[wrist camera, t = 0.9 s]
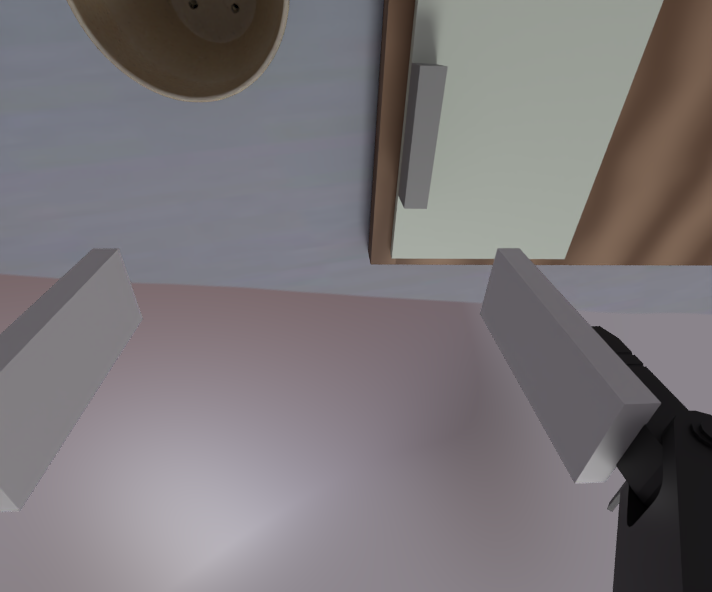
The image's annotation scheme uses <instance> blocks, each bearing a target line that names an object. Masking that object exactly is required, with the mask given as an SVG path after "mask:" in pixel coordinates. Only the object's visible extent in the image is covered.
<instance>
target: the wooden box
mask: <svg viewBox="0 0 712 592" xmlns="http://www.w3.org/2000/svg"><path fill="white" fill-rule="evenodd" d="M414 10H415V0H384V10H383V26H382V42H381V58H380V74H379V90H378V105H377V121H376V137H375V153H374V169H373V185H372V200H371V216H370V232H369V248H368V253H369V258H370V263H371V264H417V265H493V263H494V259H403V258H391V254H390V252H391V242H392V232H393V222H394V212H395V202H396V192H397V181H398V171H399V161H400V151H401V141H402V131H403V121H404V111H405V101H406V91H407V80H408V70H409V60H410V50H411V40H412V30H413V20H414ZM530 260H531V261H532V263H533V264H534V265H712V0H664V1H663V3H662V6H661V8H660V11H659V14H658V16H657V19H656V21H655V24H654V27H653V29H652V32H651V34H650V37H649V40H648V42H647V45H646V48H645V50H644V53H643V55H642V58H641V61H640V63H639V66H638V68H637V71H636V74H635V76H634V79H633V82H632V84H631V87H630V89H629V92H628V95H627V97H626V100H625V102H624V105H623V108H622V110H621V113H620V115H619V118H618V121H617V123H616V126H615V129H614V131H613V134H612V136H611V139H610V142H609V144H608V147H607V149H606V152H605V155H604V157H603V160H602V163H601V165H600V168H599V170H598V173H597V176H596V178H595V181H594V183H593V186H592V189H591V191H590V194H589V196H588V199H587V202H586V204H585V207H584V210H583V212H582V215H581V217H580V220H579V223H578V225H577V228H576V230H575V233H574V236H573V238H572V241H571V243H570V246H569V249H568V251H567V254H566V257H565V259H530Z"/></svg>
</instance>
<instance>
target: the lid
mask: <svg viewBox="0 0 712 592" xmlns="http://www.w3.org/2000/svg"><path fill="white" fill-rule="evenodd" d="M663 1H664V0H415V10H414V20H413V30H412V40H411V50H410V60H409V70H408V80H407V91H406V101H405V111H404V121H403V131H402V141H401V151H400V161H399V171H398V181H397V192H396V202H395V212H394V222H393V232H392V242H391V252H390V254H391V258H403V259H495V255H496V252H497V248H520V249H521V251H522V252H523V253H524V254H525V255H526V256H527V257H528V258H529V259H565V257H566V254H567V251H568V249H569V246H570V243H571V241H572V238H573V236H574V233H575V230H576V228H577V225H578V223H579V220H580V217H581V215H582V212H583V210H584V207H585V204H586V202H587V199H588V196H589V194H590V191H591V189H592V186H593V183H594V181H595V178H596V176H597V173H598V170H599V168H600V165H601V163H602V160H603V157H604V155H605V152H606V149H607V147H608V144H609V142H610V139H611V136H612V134H613V131H614V129H615V126H616V123H617V121H618V118H619V115H620V113H621V110H622V108H623V105H624V102H625V100H626V97H627V95H628V92H629V89H630V87H631V84H632V82H633V79H634V76H635V74H636V71H637V68H638V66H639V63H640V61H641V58H642V55H643V53H644V50H645V48H646V45H647V42H648V40H649V37H650V34H651V32H652V29H653V27H654V24H655V21H656V19H657V16H658V14H659V11H660V8H661V6H662V3H663Z"/></svg>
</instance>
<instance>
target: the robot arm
mask: <svg viewBox="0 0 712 592" xmlns="http://www.w3.org/2000/svg"><path fill="white" fill-rule="evenodd" d="M480 315H481V317H482V319H483V320H484V322H485V324H486V326H487V328H488V329H489V331H490V333H491V335H492V337H493V338H494V340H495V342H496V344H497V345H498V347H499V349H500V351H501V353H502V354H503V356H504V358H505V359H506V361H507V363H508V365H509V367H510V369H511V370H512V372H513V374H514V376H515V378H516V379H517V381H518V383H519V385H520V387H521V388H522V390H523V392H524V394H525V396H526V397H527V399H528V401H529V403H530V404H531V406H532V408H533V410H534V412H535V413H536V415H537V417H538V419H539V421H540V422H541V424H542V426H543V428H544V429H545V431H546V433H547V435H548V437H549V438H550V440H551V442H552V444H553V445H554V447H555V449H556V451H557V453H558V454H559V456H560V458H561V460H562V462H563V463H564V465H565V467H566V469H567V471H568V472H569V474H570V476H571V478H572V480H573V481H574V483H594V482H606V481H607V479H608V478H609V477H610V475H611V474H612V472H613V471H614V470H615V468H616V467H618V469H619V470H620V472H621V473H622V475H623V476H624V478H625V479H626V481H625V483H624V484H623V485H622V487H621V488H620V490H619V491H618V492H617V493H616V495H615V496H614V497H613V499H612V500H611V501H610V503H609V505H608V508H607V509H608V510H610V511H613V510H614V509H615V507H616V506H617V505H618V504H619V517H618V530H617V543H616V555H615V556H616V557H615V569H614V582H613V592H712V416H711V415H709V414H705V413H701V412H698V411H688V409H687V408H686V407H685V406H684V405H683V404H682V403H681V402H680V401H679V400H678V399H677V398H676V397H675V396H674V395H673V394H672V393H671V392H670V391H669V390H668V389H667V388H666V387H665V386H664V385H663V384H662V383H661V382H660V381H659V380H658V378H657V377H656V376H654V375H653V373H652V372H651V371H650V370H649V369H648V368H647V367H644V366H643V363H642V362H641V361H640V360H639V359H638V358H637V357H636V356H635V355H632V352H631V351H630V350H629V349H628V348H627V347H626V346H625V345H624V343H622V341H621V340H620V339H619V338H617V337H616V336H614V335H613V334H611V333H609V332H608V331H606V330H605V329H603V328H602V327H600V326H595V327H594V326H590V325H589V324H588V323H587V321H586V320H585V319H584V318H583V317H582V316H581V315H580V314H579V313H578V312H577V311H576V309H575V308H574V307H573V306H572V305H571V304H570V303H569V302H568V301H567V300H566V299H565V297H564V296H563V295H562V294H561V293H560V292H559V291H558V290H557V289H556V288H555V287H554V285H553V284H552V283H551V282H550V281H549V280H548V279H547V278H546V277H545V276H544V275H543V273H542V272H541V271H540V270H539V269H538V268H537V267H536V266H535V265H534V264H533V263H532V261H531V260H530V259H529V258H528V257H527V256H526V255H525V254H524V253H523V252H522V251H521V249H520V248H497V252H496V255H495V259H494V263H493V267H492V270H491V274H490V278H489V282H488V286H487V289H486V293H485V297H484V301H483V304H482V309H481V312H480ZM142 319H143V318H142V315H141V312H140V309H139V306H138V304H137V300H136V297H135V295H134V292H133V289H132V286H131V283H130V280H129V277H128V274H127V271H126V268H125V265H124V263H123V260H122V257H121V254H120V251H119V249H92V250H91V251H90V252H89V253H88V254H87V255H86V256H84V257H83V258H82V259H81V260H80V261H79V262H78V263H77V264H76V265H75V266H74V267H73V268H72V269H70V270H69V271H68V272H67V273H66V274H65V275H64V276H63V277H62V278H61V279H60V280H59V281H57V282H56V284H54V285H53V286H52V287H51V288H50V289H49V290H48V291H47V292H46V293H44V294H43V295H42V296H41V297H40V298H39V299H38V300H37V301H36V302H35V303H34V304H33V305H32V306H30V307H29V308H28V310H26V311H25V312H24V313H23V314H22V315H21V316H20V317H19V318H17V320H15V321H14V322H13V323H12V324H11V325H10V326H9V327H8V328H7V329H6V330H5V331H3V332H2V333H1V334H0V512H9V511H10V512H11V511H21V509H22V508H23V506H24V505H25V503H26V501H27V500H28V498H29V497H30V495H31V494H32V492H33V491H34V489H35V487H36V486H37V484H38V483H39V481H40V479H41V478H42V476H43V475H44V473H45V472H46V470H47V468H48V467H49V465H50V464H51V462H52V460H53V459H54V458H55V456H56V454H57V453H58V451H59V450H60V448H61V447H62V445H63V443H64V442H65V440H66V439H67V437H68V436H69V434H70V432H71V431H72V429H73V428H74V426H75V425H76V423H77V422H78V420H79V418H80V417H81V415H82V414H83V412H84V411H85V409H86V407H87V406H88V404H89V403H90V401H91V400H92V398H93V396H94V395H95V393H96V392H97V390H98V389H99V387H100V385H101V384H102V382H103V381H104V379H105V378H106V376H107V374H108V373H109V371H110V370H111V368H112V367H113V365H114V363H115V362H116V360H117V359H118V357H119V356H120V354H121V352H122V351H123V349H124V348H125V346H126V345H127V343H128V341H129V340H130V338H131V337H132V335H133V333H134V332H135V331H136V329H137V327H138V326H139V324H140V323H141V321H142Z"/></svg>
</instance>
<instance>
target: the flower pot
mask: <svg viewBox="0 0 712 592" xmlns="http://www.w3.org/2000/svg"><path fill="white" fill-rule="evenodd" d="M67 2H68V4H69V6H70V8H71V10H72V12H73V13H74V15H75V17H76V18H77V20H78V22H79V23H80V25H81V27H82V28H83V29H84V31H85V32H86V34H87V35H88V37H89V38H90V39H91V41H92V42H93V43H94V44H95V45H96V47H97V48H98V49H99V50H100V51H101V52H102V53H103V54H104V56H105V57H106V58H108V59H109V60H110V61H111V62H112V63H113V64H114V65H115V66H116V67H117V68H118V69H119V70H121V71H122V72H123V73H125V74H126V75H127V76H129V77H130V78H131V79H133V80H134V81H136V82H137V83H139V84H140V85H142V86H144V87H146V88H148V89H150V90H152V91H154V92H156V93H158V94H161V95H163V96H166V97H169V98H173V99H176V100H181V101H189V102H211V101H217V100H221V99H225V98H228V97H230V96H233V95H235V94H237V93H239V92H241V91H243V90H244V89H246V88H247V87H248V86H250V85H251V84H252V83H253V82H255V81H256V80H257V79H258V78H259V77H260V76H261V75H262V73H263V72H264V71H265V70H266V68H267V67H268V66H269V64H270V63H271V61H272V60H273V58H274V56H275V54H276V52H277V50H278V48H279V46H280V43H281V41H282V38H283V34H284V31H285V27H286V23H287V17H288V11H289V0H67ZM234 4H236V5H238V7H239V8H235V6H234ZM194 5H198V6H197V8H195V9H193V7H194Z"/></svg>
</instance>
